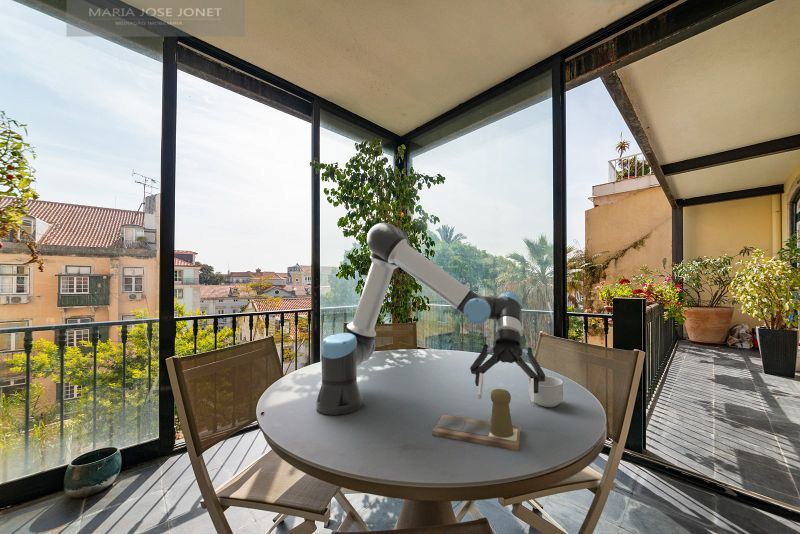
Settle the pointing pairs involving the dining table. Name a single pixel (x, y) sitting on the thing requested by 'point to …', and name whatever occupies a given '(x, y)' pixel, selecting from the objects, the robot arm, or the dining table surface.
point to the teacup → (548, 392)
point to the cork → (501, 414)
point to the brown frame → (474, 432)
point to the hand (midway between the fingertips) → (505, 400)
